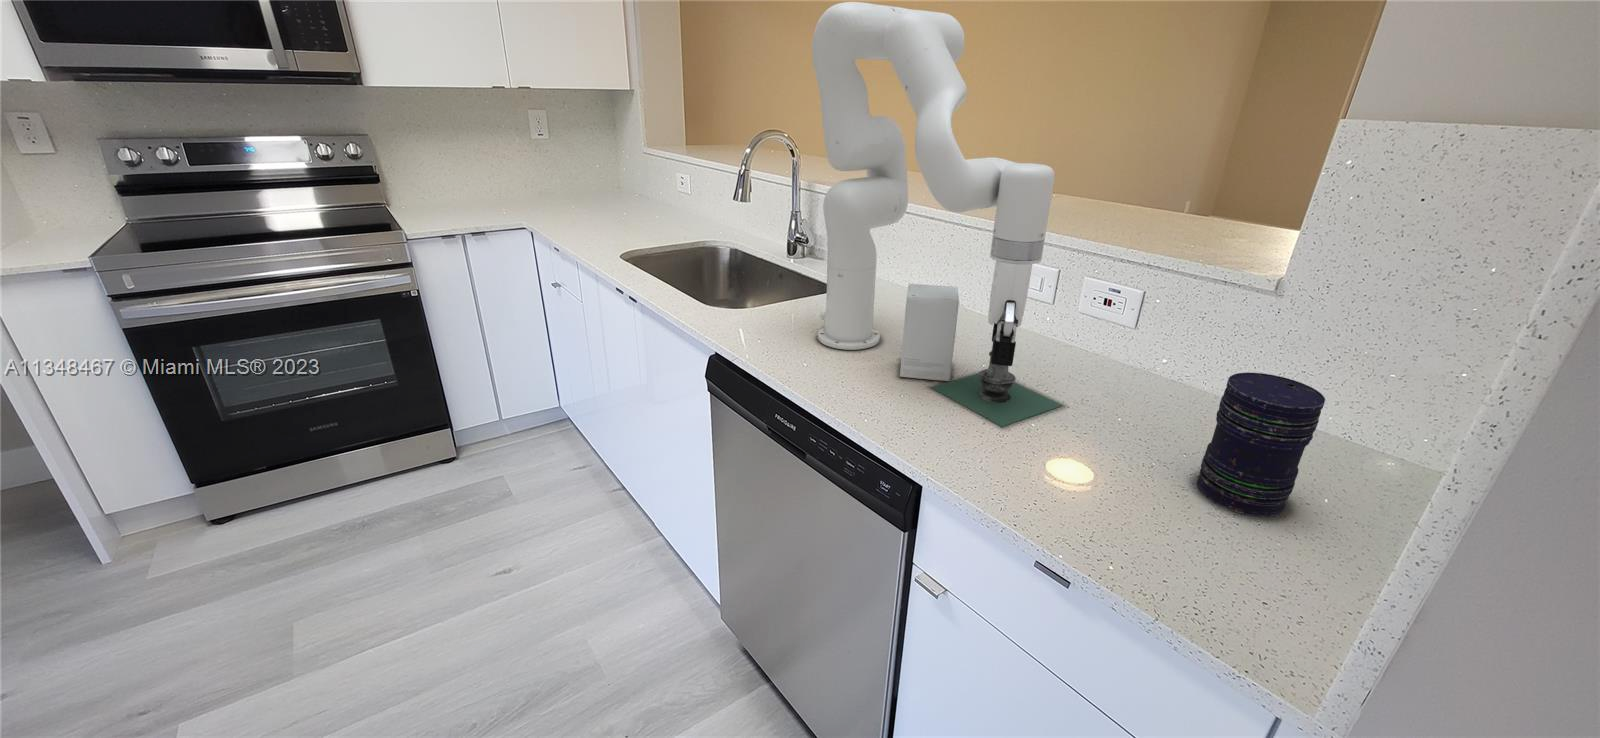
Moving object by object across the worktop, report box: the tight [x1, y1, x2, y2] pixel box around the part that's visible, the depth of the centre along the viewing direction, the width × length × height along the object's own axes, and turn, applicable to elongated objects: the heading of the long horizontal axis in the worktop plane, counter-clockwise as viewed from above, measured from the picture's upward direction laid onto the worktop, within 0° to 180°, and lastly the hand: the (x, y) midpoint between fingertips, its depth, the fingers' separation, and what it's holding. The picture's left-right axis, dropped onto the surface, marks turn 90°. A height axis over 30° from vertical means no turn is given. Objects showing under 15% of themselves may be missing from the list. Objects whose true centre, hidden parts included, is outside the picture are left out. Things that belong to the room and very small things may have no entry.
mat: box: [930, 373, 1063, 428], centre depth 108 cm, size 16×14×1 cm
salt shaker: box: [978, 334, 1017, 403], centre depth 106 cm, size 6×6×12 cm
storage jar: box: [1196, 372, 1326, 518], centre depth 80 cm, size 10×10×15 cm
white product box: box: [899, 283, 960, 382], centre depth 115 cm, size 9×9×15 cm
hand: (1001, 353), depth 105 cm, fingers open, 9 cm apart
